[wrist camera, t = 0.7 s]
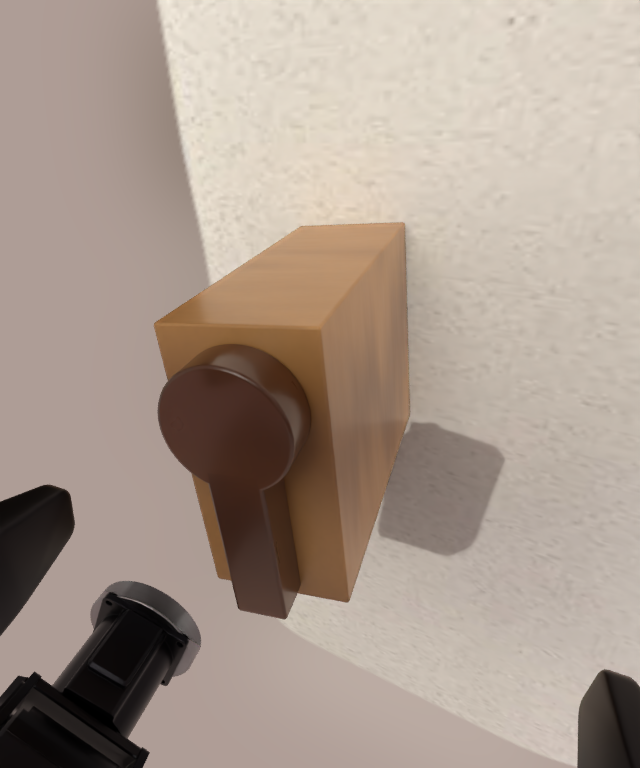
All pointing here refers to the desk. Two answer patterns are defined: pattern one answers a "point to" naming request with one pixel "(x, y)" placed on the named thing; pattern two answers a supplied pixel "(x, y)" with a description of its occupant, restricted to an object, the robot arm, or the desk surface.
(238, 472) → the brown disc handle
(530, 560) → the desk surface
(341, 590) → the wooden block
